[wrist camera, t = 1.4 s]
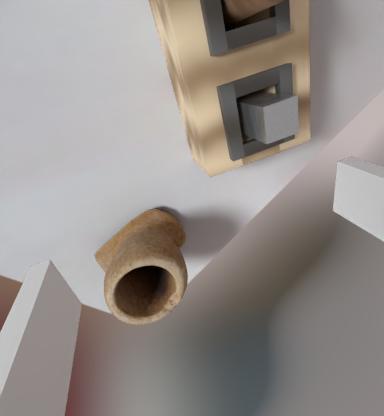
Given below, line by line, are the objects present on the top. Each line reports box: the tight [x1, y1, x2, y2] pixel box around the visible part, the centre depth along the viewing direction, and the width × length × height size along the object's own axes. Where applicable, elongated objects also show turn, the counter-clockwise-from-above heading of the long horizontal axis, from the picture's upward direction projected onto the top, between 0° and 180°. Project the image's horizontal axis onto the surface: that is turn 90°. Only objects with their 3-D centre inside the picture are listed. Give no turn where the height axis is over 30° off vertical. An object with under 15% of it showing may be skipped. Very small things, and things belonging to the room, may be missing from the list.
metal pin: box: [236, 91, 299, 144], centre depth 27 cm, size 4×4×9 cm
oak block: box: [149, 0, 310, 177], centre depth 28 cm, size 22×14×9 cm, turn 15°
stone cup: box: [94, 209, 188, 325], centre depth 34 cm, size 15×12×15 cm
